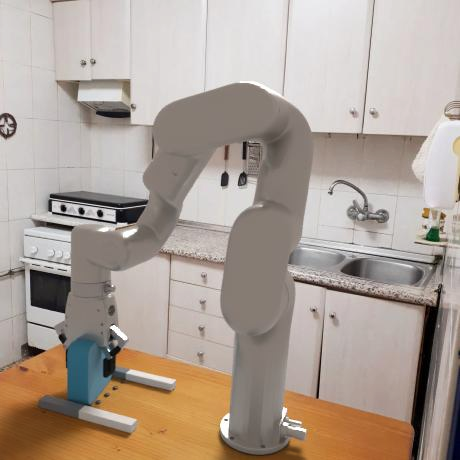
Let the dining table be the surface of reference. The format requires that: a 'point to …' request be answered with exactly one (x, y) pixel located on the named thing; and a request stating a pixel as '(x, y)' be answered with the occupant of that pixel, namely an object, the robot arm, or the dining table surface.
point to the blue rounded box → (85, 371)
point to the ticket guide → (101, 415)
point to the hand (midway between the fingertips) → (90, 370)
